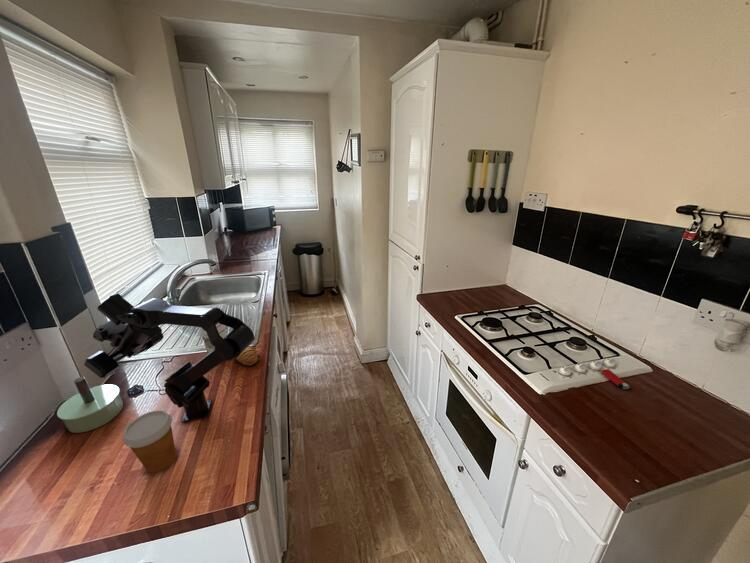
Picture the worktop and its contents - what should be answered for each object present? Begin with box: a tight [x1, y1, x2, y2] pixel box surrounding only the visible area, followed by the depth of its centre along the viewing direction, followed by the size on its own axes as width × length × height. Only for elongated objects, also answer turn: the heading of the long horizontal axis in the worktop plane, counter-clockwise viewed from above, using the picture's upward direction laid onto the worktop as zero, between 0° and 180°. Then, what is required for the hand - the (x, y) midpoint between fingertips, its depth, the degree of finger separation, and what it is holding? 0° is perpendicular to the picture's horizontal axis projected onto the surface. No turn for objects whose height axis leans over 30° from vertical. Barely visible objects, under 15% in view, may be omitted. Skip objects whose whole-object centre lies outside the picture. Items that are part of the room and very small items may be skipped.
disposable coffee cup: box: [122, 410, 177, 474], centre depth 73 cm, size 10×10×12 cm
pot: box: [62, 393, 124, 434], centre depth 89 cm, size 13×13×5 cm
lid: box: [56, 376, 121, 421], centre depth 87 cm, size 14×14×9 cm
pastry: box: [235, 345, 259, 366], centre depth 112 cm, size 9×7×4 cm
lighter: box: [600, 368, 630, 390], centre depth 98 cm, size 3×1×8 cm
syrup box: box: [199, 323, 228, 355], centre depth 113 cm, size 6×6×14 cm
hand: (118, 363), depth 90 cm, fingers open, 9 cm apart
